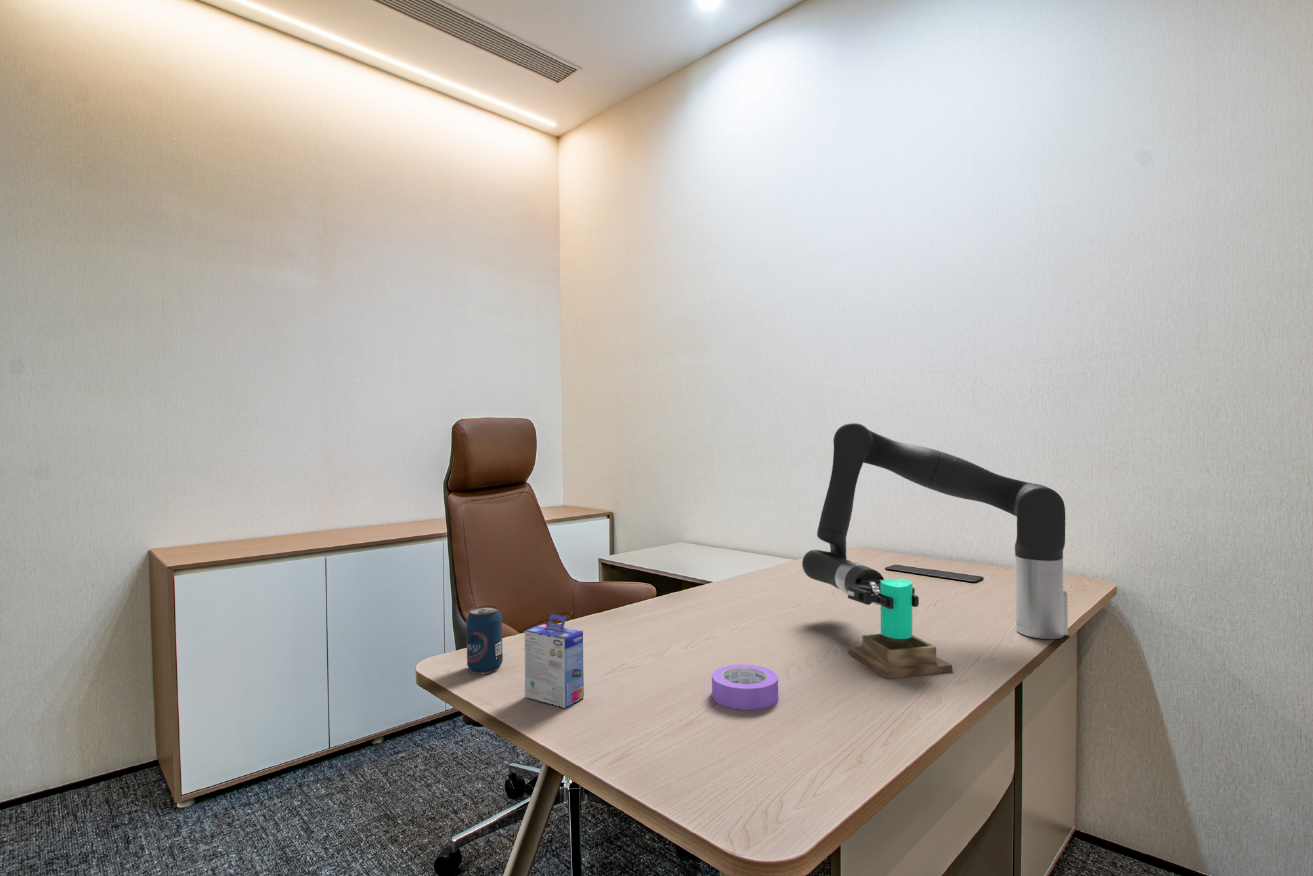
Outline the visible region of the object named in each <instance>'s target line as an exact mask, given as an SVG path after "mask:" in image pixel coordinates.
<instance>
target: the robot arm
mask: <svg viewBox="0 0 1313 876" xmlns="http://www.w3.org/2000/svg"><path fill="white" fill-rule="evenodd" d="M864 464H867V465H870V466H871V465H872V466H875V467H877V468H882V469H884V470H887V471H889V472H892V473H894V474H896V475H897V476H900V477H901V478H904V479H905V480H907V481H909V482H913V483H915V484H917V485H920V486H922V487H923V488H927V489H929V490H932V491H935V492H937V493H941V494H944V495H947V496H950V497H954V498H958V499H964V500H968V501H974V502H978V503H983V504H987V505H989V506H992V507H995V508H996V509H999V510H1001V511H1004V512H1007V514H1010V515H1013V516H1014V517H1016V539H1015V543H1014V554H1015V555H1014V568H1015V569H1014V570H1015V571H1014V577H1015V580H1014V581H1015V626H1016V627H1015V628H1016V629H1015V630H1016V632H1018V633H1019V634H1020V635H1023V636H1026V637H1029V638H1030V637H1031V638H1036V639H1040V640H1041V639H1043V640H1044V639H1045V640H1057V639H1058V640H1059V639H1062V638H1064V636H1068V634H1069V629H1068V628H1069V627H1068V626H1069V625H1068V621H1069V620H1068V616H1069V615H1068V593H1067V591H1065V590H1064V549H1065V545H1066V507H1065V506H1066V505H1065V501H1064V499H1063V497H1062V496H1061V495H1060V494H1059V493H1058V492H1057V491H1056V490H1054V489H1052V488H1050V487H1048V486H1045V485H1042V484H1038V483H1032V482H1028V481H1023V480H1019V479H1014V478H1011V477H1006V476H1004V475H1001V474H998V473H994V472H992V471H990V470H988V469H986V468H984V467H982V466H980V465H977V464H975V463H974V462H971V461H968V460H966V459H964V458H962V457H961V458H960V457H959V456H956V455H952V454H949V453H947V452H943V451H941V450H937V449H934V448H929V447H925V446H921V445H917V444H909V443H904V442H900V441H897V440H893V439H890V438H888V437H886V436H883V435H881V434H879V433H876V432H875V431H872V430H870V429H868V428H867V427H866V426H865V425H863V424H861V423H859V422H847V423H844V424H843V425H841V426H840V427H839V428H838V429H837V430H836V431H835V433H834V435H833V459H832V467H831V474H830V475H831V476H830V481H829V483H828V488H827V492H826V496H825V498H824V501H823V507H822V510H821V514H820V518H819V523H818V527H817V531H816V535H817V538H818V539H819V540H821V541H822V542H825V543H826V544H829V547H830V551H826V550H820V549H812V550H809V551H807V552H805V554H804V556H803V557H802V562H801V563H802V564H801V565H802V570H803V572H804V574H805V575H806V576H808V578H810V579H812V580H815V581H818V582H821V583H825V584H828V585H830V586H833V587H834V588H836V589H838V590H840V591H842V593H844V594H845V595H847V599H849V600H851V601H855V602H858V603H861V604H864V605H866V606H869V605H870V606H871V604H874V606H879V605H880V606H881V605H882V606H884V607H886V608H888V609H893V598H892V597H889V596H885V595H883V594H881V584H880V581H883V580H885V578H884V577H883V575H882V574H881V573H880V571H878V570H875V569H873V568H870V567H869V566H866V565H864V564H861V563H858V562H853V561H851V560H848V559H847V535H848V532H849V528H850V527H849V526H850V523H851V519H852V515H853V514H852V512H853V508H854V500H855V495H856V494H855V493H856V489H857V488H856V487H857V484H858V478H859V476H860V473H861V469H862V467H863V465H864ZM915 592H916V589H915V588H914V587H913V586H912V608H913V607H914V608H917V607H919V604H920V603H919V602H920V600H919V599H920V598H919V596H918V595H916V593H915Z"/></svg>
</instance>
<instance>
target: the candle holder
mask: <svg viewBox="0 0 1313 876" xmlns="http://www.w3.org/2000/svg"><path fill="white" fill-rule="evenodd" d="M861 638H862V639H861V646H854V647H852V646H851V647H848V654H849V655H850V654H851V655H850V656H851V657H853V658H855V659H856V658H857V659H856V660H858V661H859V662H861V663H862V664H863V665H865V666H867V667H868V668H869V669H871V670H873V671H874V672H876V673H877V674H879V675H880V676H882V677H883V678H885V679H887V680H891V679H897V678H898V679H899V678H906V677H916V676H923V675H924V676H925V675H930V674H931V675H933V674H940V673H941V674H942V673H948V672H949V673H950V672H953V664H951V663H949V662H947V661H946V660H944V659H942V658H939V657H938V656H937V646H935V645H934V644H931V643H929V642H927V641H926V640H923V639H921V638H919V637H917V636H915V635H913V634H912V637H911V638H908V639H895V638H889V637H886V636H884V635H882V634H881V633H874V634H864V635H862V636H861Z"/></svg>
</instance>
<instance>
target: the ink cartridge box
mask: <svg viewBox="0 0 1313 876" xmlns="http://www.w3.org/2000/svg"><path fill="white" fill-rule="evenodd" d="M566 619H567V616H564V615H560V614H554V613H551V615H550V616H549V619H548V621H547V624H538V625H536V626H533V627H531V628H528V629H527V630H525V631H524V697H525V698H527V699H530V700H535V701H538V702H541V703H545V702H546V704H550V705H552V704H553V706H557V707H559V706H560V707H559V708H564V709H566V708H567V707H569V706H571V704H572V705H574V704H575V703H574V702H576V703H577V701H578V700H580V699H581V698H583V697H584V698H585V684H584V683H585V679H584V675H585V674H584V631H583V630H579V629H575V628H568V627H565V623H566V621H567V620H566ZM553 620H559V621H561V623H560V624H559V623H555V622H552V621H553ZM580 701H581V700H580ZM578 702H579V701H578ZM573 703H574V704H573Z"/></svg>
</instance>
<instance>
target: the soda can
mask: <svg viewBox="0 0 1313 876" xmlns="http://www.w3.org/2000/svg"><path fill="white" fill-rule="evenodd" d="M502 620H503V619H502V615H501V613H500V612H499V607H497V606H496V605H495V606H494V605H482V606H475V607H473V608H471V609H469V610H468V615H467V616H466V619H465V623H466V624H465V625H466V626H465V627H466V629H465V631H466V632H465V633H466V662H467V663H466V665H467V667H468V669H469V670H470V672H471V671H472V672H471V673H473V674H476V673H479V674H478V675H485V674H484V673H487V674H491V673H494V672H497V671H498V670H499V669H500V667H501V665H502V663H503V660H504V659H503V658H504V657H503V630H502V629H503V626H502V625H503V623H502ZM497 669H498V670H497ZM493 671H494V672H493ZM482 673H483V674H482Z"/></svg>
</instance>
